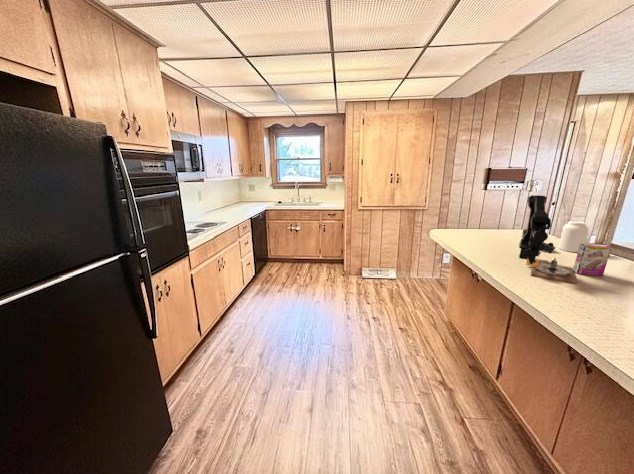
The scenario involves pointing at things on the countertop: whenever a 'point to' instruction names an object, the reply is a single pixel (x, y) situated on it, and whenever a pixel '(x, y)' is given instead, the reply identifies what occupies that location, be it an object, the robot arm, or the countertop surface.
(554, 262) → the post
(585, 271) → the candy bar box
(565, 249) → the white container
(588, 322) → the countertop surface
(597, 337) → the countertop surface
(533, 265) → the flange plate
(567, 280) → the walnut board
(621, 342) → the countertop surface
